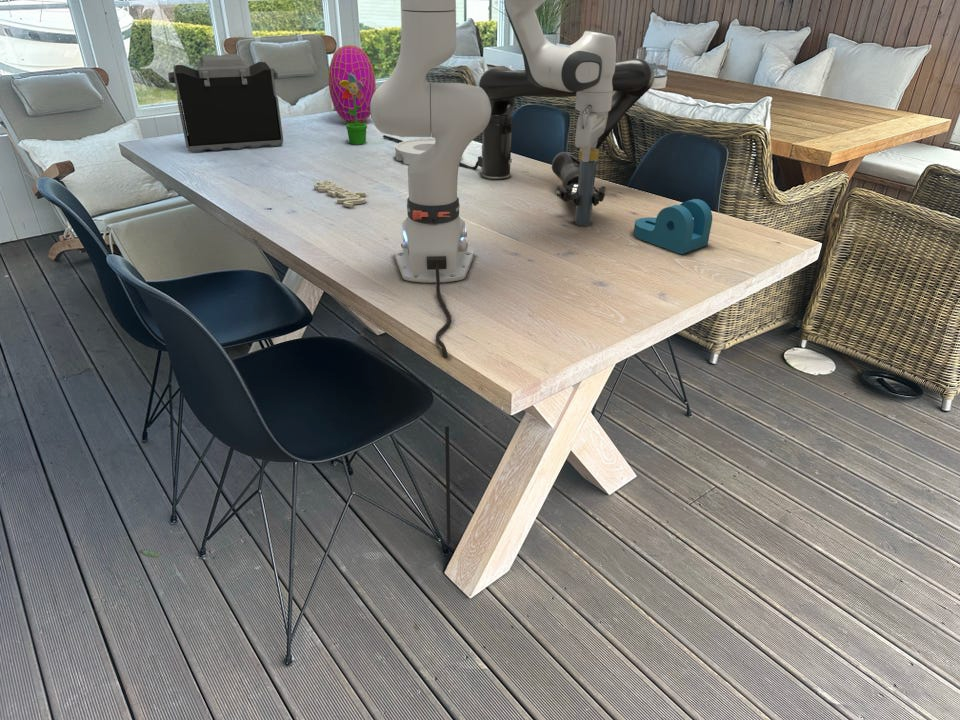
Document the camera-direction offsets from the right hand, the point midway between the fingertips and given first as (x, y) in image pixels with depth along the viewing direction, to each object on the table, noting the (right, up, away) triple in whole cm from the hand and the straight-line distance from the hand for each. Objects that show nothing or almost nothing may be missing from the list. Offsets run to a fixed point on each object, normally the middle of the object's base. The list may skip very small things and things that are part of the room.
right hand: (586, 202), depth 180 cm
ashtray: (-46, +30, +63) cm, 84 cm away
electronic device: (-121, +40, +79) cm, 150 cm away
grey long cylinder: (0, -4, +6) cm, 7 cm away
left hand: (0, +11, -3) cm, 11 cm away
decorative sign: (-69, +8, +25) cm, 74 cm away
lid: (0, +12, -4) cm, 13 cm away
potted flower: (-74, +41, +82) cm, 118 cm away
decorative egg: (-81, +60, +113) cm, 151 cm away
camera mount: (+20, -11, -5) cm, 23 cm away
